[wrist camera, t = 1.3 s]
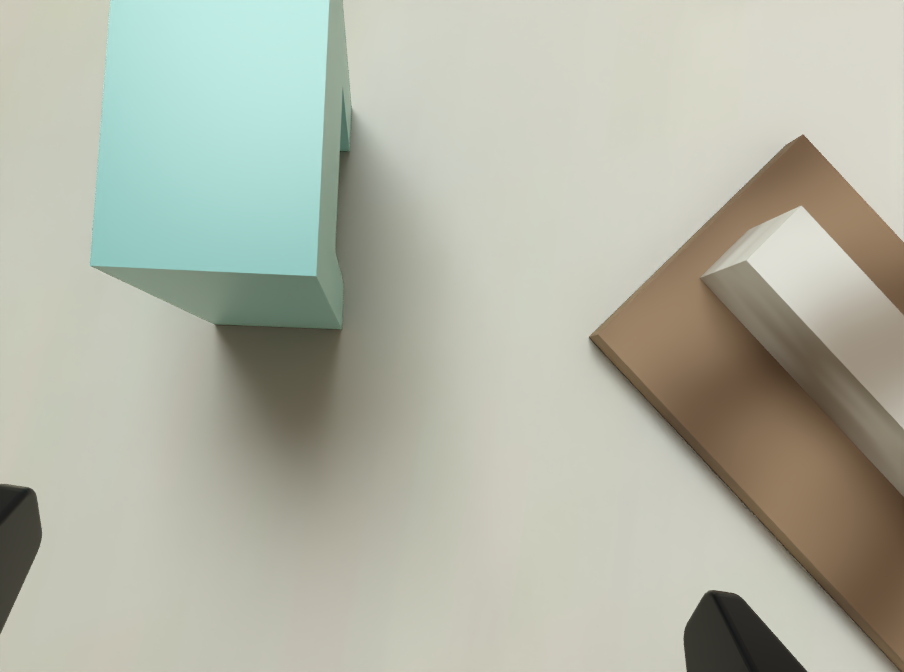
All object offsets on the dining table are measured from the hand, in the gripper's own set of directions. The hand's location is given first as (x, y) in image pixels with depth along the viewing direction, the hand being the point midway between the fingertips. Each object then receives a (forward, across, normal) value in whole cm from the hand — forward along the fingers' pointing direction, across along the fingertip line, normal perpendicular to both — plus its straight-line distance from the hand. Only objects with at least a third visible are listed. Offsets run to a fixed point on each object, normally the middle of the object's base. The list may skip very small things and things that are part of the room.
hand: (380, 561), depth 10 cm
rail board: (+12, -20, +7) cm, 24 cm away
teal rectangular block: (+15, +4, +2) cm, 16 cm away
